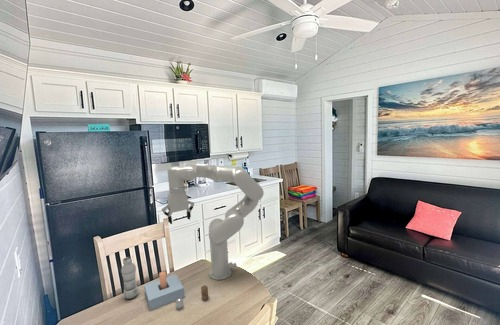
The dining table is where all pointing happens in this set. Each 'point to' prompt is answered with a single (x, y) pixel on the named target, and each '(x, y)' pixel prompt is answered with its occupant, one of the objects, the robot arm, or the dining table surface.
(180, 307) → the short pin
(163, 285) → the long pin
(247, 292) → the dining table surface
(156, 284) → the hole block
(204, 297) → the mid pin
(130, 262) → the plastic bottle
